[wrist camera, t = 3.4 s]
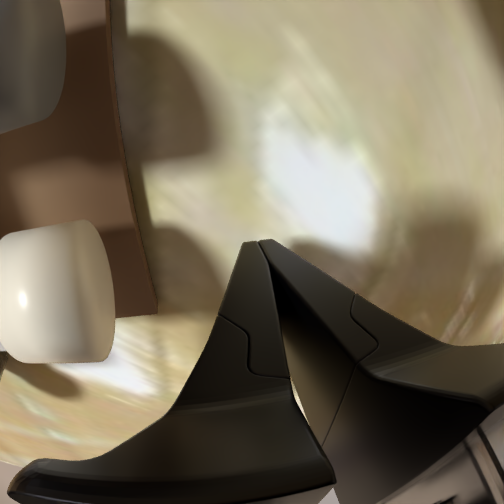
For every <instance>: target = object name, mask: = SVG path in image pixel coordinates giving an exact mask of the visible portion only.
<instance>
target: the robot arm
mask: <svg viewBox="0 0 504 504" xmlns="http://www.w3.org/2000/svg"><path fill="white" fill-rule="evenodd" d="M289 372H290V374H289ZM290 375H291V378H292V380H293V383H294V386H295V388H296V391H297V393H298V396H299V399H300V401H301V404H302V407H303V409H304V412H305V415H306V417H307V420H308V422H309V424H308V422H307V420H306V419H305V417H304V415H303V413H302V411H301V410H300V408H299V406H298V404H297V402H296V400H295V397H294V394H293V390H292V385H291V381H290ZM309 425H310V426H309ZM332 488H334V490H335V493H336V495H337V498H338V501H339V503H340V504H504V343H503V344H491V345H478V346H454V345H449V344H446V343H443V342H441V341H439V340H437V339H435V338H433V337H431V336H429V335H427V334H425V333H424V332H422V331H420V330H418V329H416V328H414V327H412V326H411V325H409V324H407V323H405V322H403V321H401V320H399V319H398V318H396V317H394V316H392V315H391V314H389V313H387V312H385V311H384V310H382V309H380V308H379V307H377V306H375V305H374V304H372V303H371V302H369V301H367V300H366V299H364V298H363V297H361V296H360V295H358V294H355V292H354V291H352V290H351V289H349V288H348V287H346V286H344V285H343V284H341V283H340V282H338V281H337V280H335V279H334V278H332V277H331V276H329V275H328V274H326V273H325V272H323V271H321V270H320V269H318V268H317V267H315V266H314V265H312V264H311V263H309V262H308V261H306V260H305V259H303V258H301V257H300V256H298V255H297V254H295V253H294V252H292V251H291V250H289V249H287V248H286V247H284V246H283V245H281V244H280V243H278V242H276V241H275V240H273V239H266V240H260V241H258V242H257V241H250V242H244V243H242V246H241V249H240V251H239V254H238V257H237V260H236V263H235V266H234V269H233V272H232V274H231V277H230V280H229V283H228V286H227V289H226V292H225V295H224V298H223V301H222V303H221V306H220V309H219V312H218V316H217V317H216V320H215V323H214V326H213V329H212V331H211V334H210V336H209V339H208V341H207V343H206V345H205V347H204V350H203V352H202V354H201V356H200V358H199V359H198V361H197V363H196V365H195V367H194V368H193V370H192V372H191V374H190V376H189V378H188V379H187V381H186V383H185V385H184V387H183V389H182V390H181V392H180V394H179V396H178V397H177V399H176V401H175V402H174V404H173V405H172V407H171V408H170V409H169V410H168V412H167V413H166V414H165V415H164V416H162V417H161V418H160V419H158V420H157V421H155V422H154V423H152V424H151V425H149V426H148V427H146V428H145V429H143V430H142V431H140V432H139V433H137V434H136V435H134V436H133V437H131V438H130V439H128V440H127V441H125V442H123V443H122V444H120V445H119V446H117V447H116V448H114V449H112V450H111V451H109V452H107V453H105V454H103V455H101V456H98V457H95V458H92V459H87V460H81V461H68V460H59V459H48V458H43V459H36V460H34V461H32V462H31V463H29V464H28V465H27V466H26V467H24V468H23V469H22V470H21V471H19V472H18V473H17V474H16V476H15V477H14V478H13V480H12V481H11V482H10V485H9V487H8V490H7V494H8V496H9V497H10V498H12V499H13V500H15V501H17V502H18V503H20V504H318V503H319V502H320V501H321V500H322V499H323V498H324V497H325V496H326V495H327V493H328V492H329V491H330V490H331V489H332Z"/></svg>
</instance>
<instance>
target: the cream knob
mask: <svg viewBox="0 0 504 504" xmlns="http://www.w3.org/2000/svg"><path fill="white" fill-rule="evenodd" d="M114 333H115V299H114V289H113V282H112V276H111V270H110V265H109V261H108V257H107V254H106V250H105V247H104V244H103V242H102V239H101V237H100V235H99V233H98V231H97V230H96V228H95V227H94V225H93V224H92V223H91V222H89V221H87V220H78V221H72V222H67V223H61V224H55V225H50V226H44V227H39V228H33V229H28V230H23V231H18V232H13V233H9V234H7V235H6V236H4V237H3V238H2V239H1V240H0V351H7V352H8V353H9V354H10V355H11V356H12V357H13V358H15V359H16V360H18V361H20V362H23V363H85V362H101V361H104V360H105V359H106V358H107V357H108V355H109V353H110V351H111V348H112V345H113V340H114Z"/></svg>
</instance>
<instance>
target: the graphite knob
mask: <svg viewBox="0 0 504 504" xmlns="http://www.w3.org/2000/svg"><path fill="white" fill-rule="evenodd" d="M65 70H66V34H65V25H64V18H63V12H62V8H61V3H60V0H0V134H2V133H5V132H8V131H11V130H14V129H17V128H20V127H23V126H26V125H29V124H32V123H36V122H39V121H42V120H45V119H46V118H47V117H49V116H50V115H51V114H52V113H53V111H54V110H55V108H56V106H57V104H58V102H59V99H60V96H61V93H62V89H63V84H64V78H65Z"/></svg>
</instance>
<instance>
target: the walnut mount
mask: <svg viewBox="0 0 504 504" xmlns="http://www.w3.org/2000/svg"><path fill="white" fill-rule="evenodd" d="M60 3H61V8H62V12H63V18H64V25H65V34H66V70H65V78H64V84H63V89H62V93H61V96H60V99H59V102H58V104H57V106H56V108H55V110H54V111H53V113H52V114H51V115H50V116H49V117H47V118H46V119H45V120H42V121H39V122H36V123H32V124H29V125H26V126H23V127H20V128H17V129H14V130H11V131H8V132H5V133H2V134H0V240H1V239H2V238H3V237H4V236H6V235H7V234H9V233H13V232H18V231H23V230H28V229H33V228H39V227H44V226H50V225H55V224H61V223H67V222H72V221H78V220H87V221H89V222H91V223H92V224H93V225H94V227H95V228H96V230H97V231H98V233H99V235H100V237H101V239H102V242H103V244H104V247H105V250H106V254H107V257H108V261H109V265H110V270H111V276H112V282H113V289H114V299H115V318H121V317H131V316H142V315H151V314H157V312H158V302H157V299H156V295H155V291H154V288H153V284H152V280H151V276H150V272H149V269H148V265H147V261H146V257H145V252H144V248H143V244H142V240H141V235H140V231H139V226H138V222H137V217H136V212H135V208H134V203H133V198H132V193H131V188H130V182H129V177H128V171H127V165H126V160H125V154H124V147H123V141H122V134H121V127H120V120H119V113H118V105H117V96H116V87H115V77H114V67H113V54H112V40H111V21H110V0H60Z"/></svg>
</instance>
